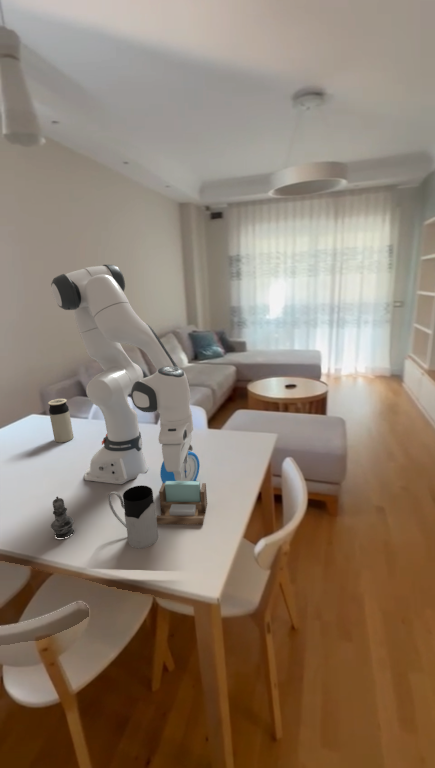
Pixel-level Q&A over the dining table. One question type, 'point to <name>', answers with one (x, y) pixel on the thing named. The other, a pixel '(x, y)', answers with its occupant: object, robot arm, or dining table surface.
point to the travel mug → (60, 420)
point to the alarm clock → (183, 469)
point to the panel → (183, 491)
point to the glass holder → (138, 515)
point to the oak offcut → (169, 512)
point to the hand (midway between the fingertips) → (181, 470)
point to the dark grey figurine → (61, 520)
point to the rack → (167, 505)
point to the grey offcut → (182, 510)
